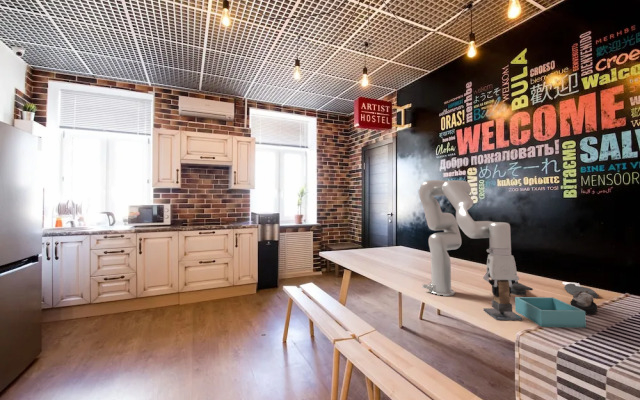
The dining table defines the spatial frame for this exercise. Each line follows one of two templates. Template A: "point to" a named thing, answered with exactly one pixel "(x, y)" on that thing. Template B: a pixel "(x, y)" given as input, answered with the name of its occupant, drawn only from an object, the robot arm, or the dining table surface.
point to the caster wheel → (584, 302)
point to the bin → (550, 312)
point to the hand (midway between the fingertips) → (501, 295)
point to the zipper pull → (519, 289)
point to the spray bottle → (578, 289)
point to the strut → (502, 297)
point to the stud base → (502, 314)
